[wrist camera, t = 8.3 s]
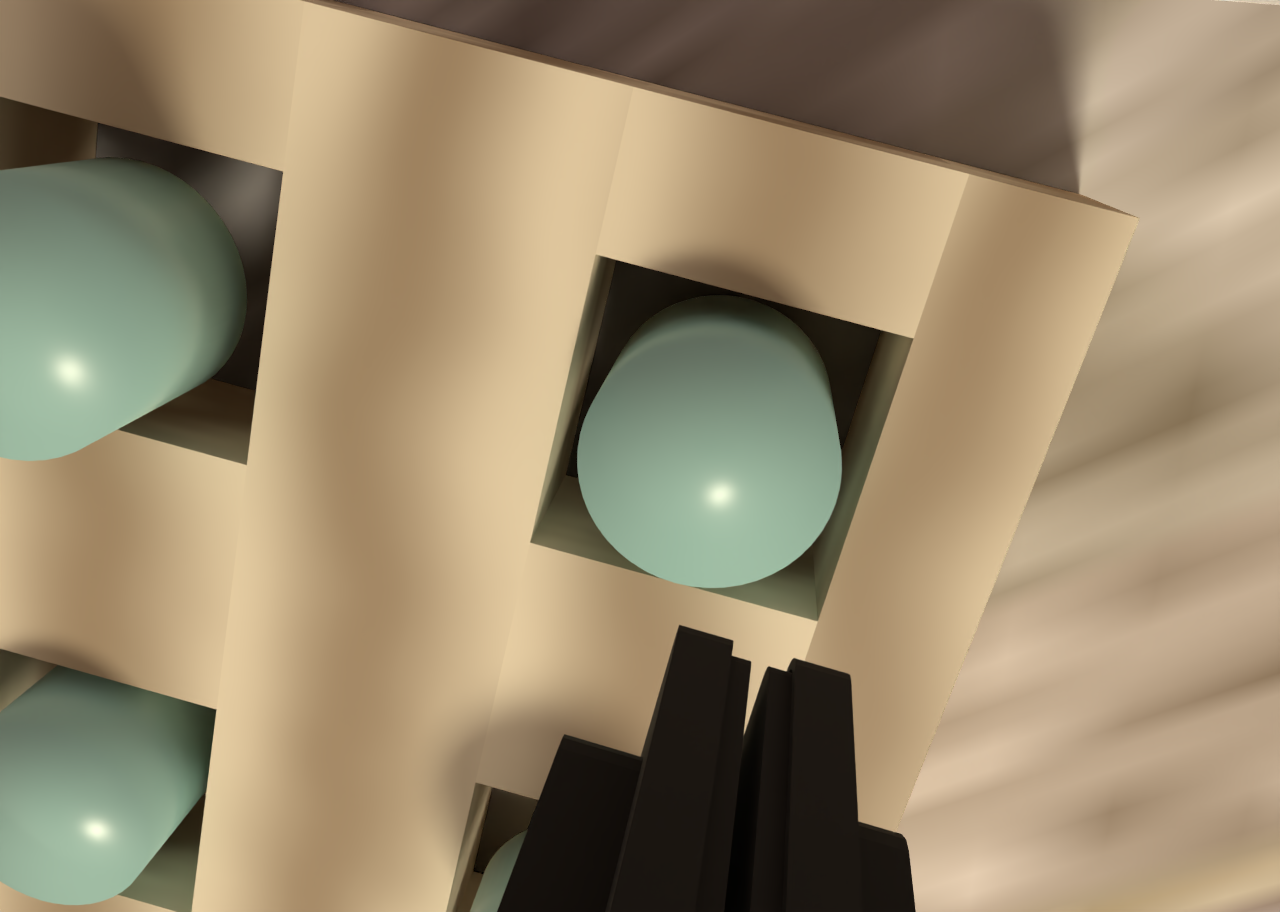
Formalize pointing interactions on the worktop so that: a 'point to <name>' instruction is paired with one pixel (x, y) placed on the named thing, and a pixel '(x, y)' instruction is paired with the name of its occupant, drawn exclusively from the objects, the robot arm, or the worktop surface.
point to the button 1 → (107, 300)
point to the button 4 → (712, 444)
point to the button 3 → (497, 876)
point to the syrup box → (1258, 1)
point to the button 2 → (94, 783)
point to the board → (501, 431)
